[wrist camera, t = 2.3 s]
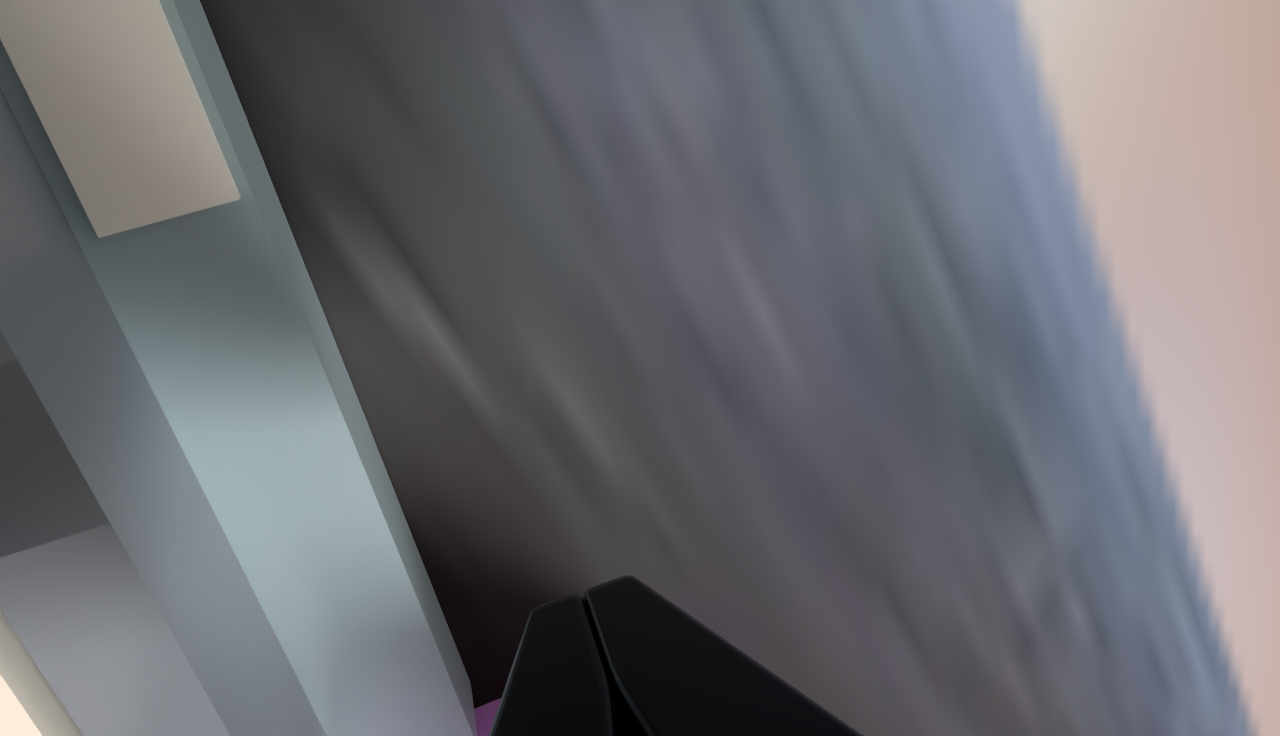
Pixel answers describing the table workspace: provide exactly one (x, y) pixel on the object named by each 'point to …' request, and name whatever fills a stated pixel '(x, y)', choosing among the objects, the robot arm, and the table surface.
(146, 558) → the switch plate
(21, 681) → the tab
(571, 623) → the robot arm
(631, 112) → the table surface
